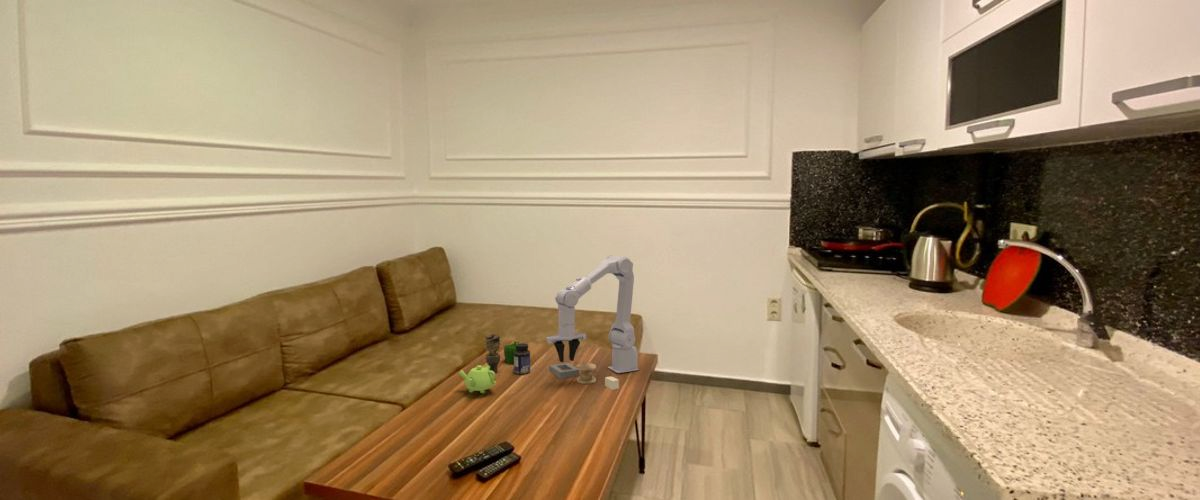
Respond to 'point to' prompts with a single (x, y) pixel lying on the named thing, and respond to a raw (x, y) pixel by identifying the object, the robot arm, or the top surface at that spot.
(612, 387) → the rectangular block
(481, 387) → the teapot
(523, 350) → the pill bottle
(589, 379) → the bobbin
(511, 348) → the bell pepper
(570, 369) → the board with rectangular hole
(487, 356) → the dark carved statue
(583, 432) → the top surface
